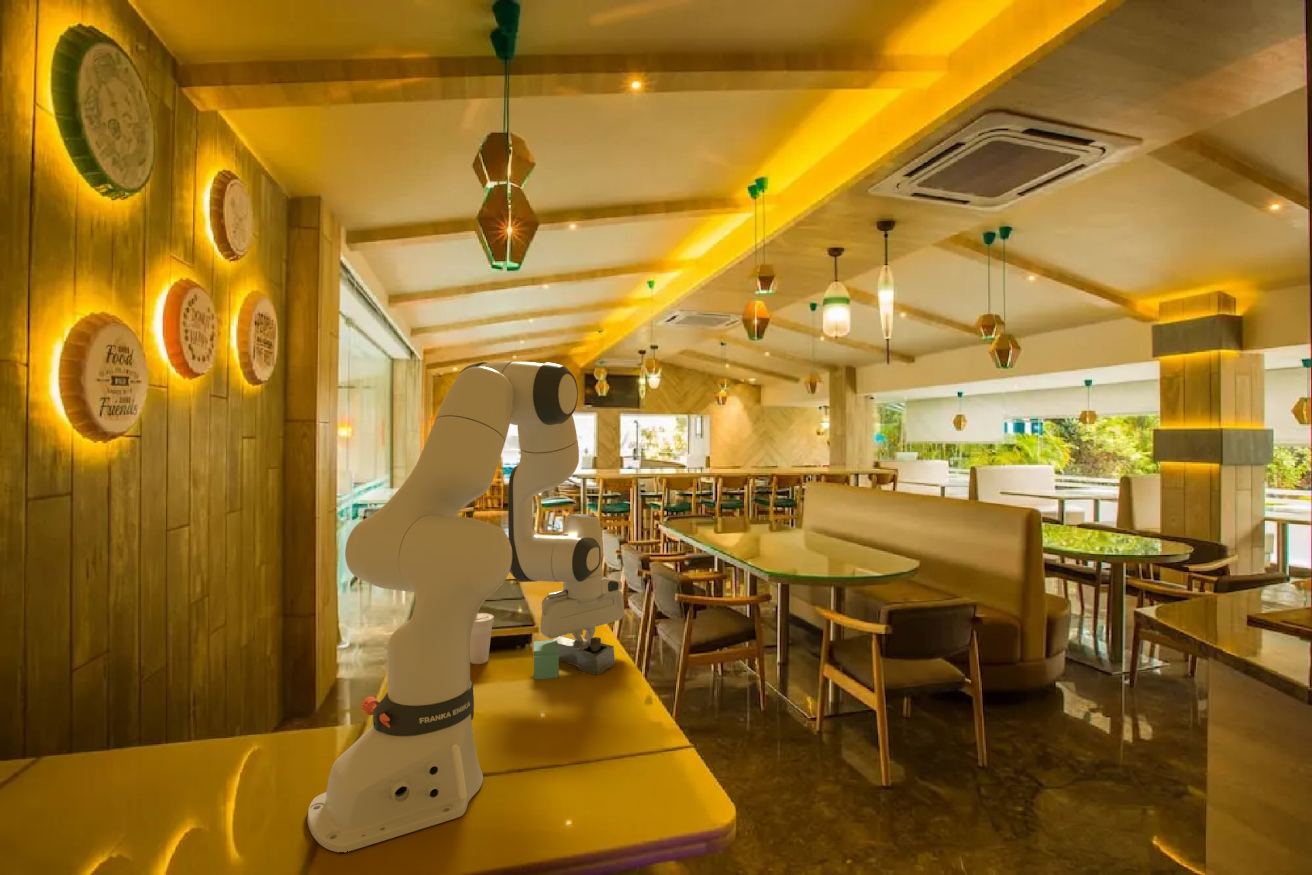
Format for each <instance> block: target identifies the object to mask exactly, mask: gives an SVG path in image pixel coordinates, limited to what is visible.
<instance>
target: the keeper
mask: <svg viewBox="0 0 1312 875" xmlns="http://www.w3.org/2000/svg"><path fill="white" fill-rule="evenodd" d="M559 662H560V661H559V654H558V642H557V640H553V639H550V640H549V639H548V640H539V641H538V640H537V641H533V680H545V679H558V678H557V677H559V678H560V668H559V667H560V665H559Z"/></svg>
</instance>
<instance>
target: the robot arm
mask: <svg viewBox="0 0 1312 875" xmlns="http://www.w3.org/2000/svg"><path fill="white" fill-rule="evenodd" d="M446 392H447V393H446V395H445V397H444V398H443V401H442V403H441V405H440V407H439V408H438V411H437V414H436V416H435V418H434V421H433V424H432V426H431V429H430V431H429V434H428V436H427V439H426V442H425V444H424V446H423V449H422V451H421V453H420V456H419V457H418V460H417V463H416V465H415V466H414V468H413V469H412V471H411V473H410V474H409V475H408V477H407V478H406V480H405V481H404V482H403V483H402V485H401V486H400V487H399V489H398V490H397V491H396V492H395V494H394V495H393V496H392V497H391V498H390V499H389V500H388V501H387V502H386V503H385V504H384V505H382V507H381V508H380V509H378V510H376V512H373V513H372V514H370V516H367V517H365V518H364V519H362V520H360V522H358V523H357V524H356V525H355V526H354V527H353V529H352V530H351V531H350V533H349V536H348V538H347V541H346V544H345V550H344V554H345V555H344V558H345V563H346V566H347V568H348V570H349V572H350V573H351V574H352V575H353V576H354V577H356V578H357V579H359V580H361V581H363V582H365V583H368V584H369V585H373V586H375V587H378V588H381V589H384V590H385V589H386V590H392V591H393V590H394V591H402V592H408V593H409V592H411V593H414V597H415V603H414V608H413V612H412V616H411V618H410V619H409V620H408V621H406V622H404V623H403V624H401V625H400V626H399V627H397V628H396V629H395V631H393V633H392V634H391V635H390V637H389V639H388V641H387V646H386V653H387V654H386V656H387V657H386V658H387V659H386V664H387V666H386V667H387V668H386V669H387V692H386V693H385V695H384V696H383V698H382V699H381V700H380V701H378V700H377V698H375V696H367V697H366V698H364V699H363V701H362V702H361V704H362V705H361V709H362V710H363V711H364V712H365V714H367V715H368V716H372V726H370V728H368V729H367V730H366V731H365V732H364V733H363V734H362V735H361V736H360V737H359V738H358V739H357V740H356V741H355V742H354V743H352V745H351V746H349V747H348V748H347V749H346V750H345V751H344V752H343V753H342V754H341V755H340V756H338V757H337V758H336V760H335V761H334V762H333V764H332V767H331V769H330V773H329V775H328V781H327V785H326V791H325V792H322V793H321V794H319V795H316V796H315V797H314V798H313V800H312V801H311V802H310V804H309V806H308V810H307V825H308V829H309V831H310V833H311V835H312V837H313V839H315V841H316V842H317V843H318V844H319V845H320V846H322V847H323V848H324V849H327V850H329V851H331V852H335V853H339V852H344V853H348V852H351V851H355V850H358V849H361V848H365V847H368V846H371V845H373V844H377V843H380V842H384V841H387V840H390V839H393V838H396V837H400V836H403V835H406V834H409V833H412V832H413V833H414V832H416V831H419V830H423V829H426V828H429V827H432V826H436V825H438V824H439V825H440V824H441V823H442V824H443V823H445V822H447V821H452V820H454V819H457V818H460V817H462V816H463V815H465V813H466V812H467V810H468V805H469V802H470V801H471V799H472V798H473V797H475V795H476V794H477V792H479V790H480V789H481V788H482V785H483V781H484V775H483V772H482V768H481V765H480V762H479V758H478V755H477V754H478V753H477V749H476V745H475V744H476V743H475V738H474V730H473V729H474V728H473V721H472V720H474V715H475V712H474V710H475V708H474V707H475V696H474V683H473V681H472V680H471V660H470V646H471V634H472V628H473V624H474V621H475V618H476V615H477V613H479V610H480V609H481V608H482V605H483V604H484V602H485V601H486V600H487V599H488V598H489V597H490V596H491V595H492V594H493V593H495V592H496V591H498V589H500V587H501V586H502V585H503V584H504V582H505V581H506V579H507V578H508V576H509V574H511V576H512V577H513V578H514V579H515V580H517V581H518V582H520V583H529V582H530V583H531V582H547V583H548V582H550V583H562V590H559V591H556V592H551V593H550V592H549V593H547V596H545V597H544V598H543V600H542V602H541V616H540V617H541V618H540V633H541V634H542V635H543V636H545V637H546V638H548V639H550V640H553V639H555V638H557V637H564V636H566V635H570V634H572V636H573V638H574V640H577V641H580V642H585V643H589V644H590V643H591V638H594V635H595V633H596V628H597V627H599V626H603V625H606V624H610V623H614V622H617V621H621V620H622V619H623V617H624V614H625V603H624V602H625V601H624V595H623V592H622V591H621V590H622V588H623V585H622V584H623V582H622V581H621V580H619V579H616V578H614V577H611V576H606V575H604V570H603V569H604V568H603V566H602V557H603V554H604V552H603V551H604V550H603V546H604V545H603V535H602V528H601V526H602V525H601V522H600V519H599V517H598V516H596V515H594V514H584V513H583V514H580V513H578V514H577V513H572V514H568V515H565V517H564V522H563V530H562V534H560V535H559V534H542V533H541V534H540V533H538V532H536V531H535V530H534V527H533V519H534V518H533V512H534V510H533V507H534V506H533V504H534V503H533V502H534V501H533V500H534V497H535V496H537V495H538V494H541V493H544V492H546V491H549V490H552V489H554V488H555V489H556V488H557V487H558V486H560V485H562V484H563V483H566V481H567V480H569V479H570V478H571V477H572V476H573V474H574V473H575V471H576V470H577V468H578V465H579V463H580V461H579V460H580V450H579V448H580V447H579V442H578V441H579V440H578V436H577V429H576V425H575V424H576V423H575V420H574V416H573V413H574V412H575V410H576V408H577V405H578V399H579V390H578V383H577V380H576V378H575V376H574V375H573V373H572V372H571V370H569V368H568V367H566V366H564V365H562V364H558V363H553V362H544V363H540V362H532V361H531V362H530V361H519V360H503V361H502V360H501V361H493V362H487V361H486V362H485V361H481V362H475V363H473V364H472V363H471V364H470V365H468V366H465V367H464V368H463V369H462V370H461V371H460V372H459V374H458V375H457V376H456V378H455V380H454V381H453V382H452V384H451V386H450V388H449V389H448V391H446ZM510 425H513V426H517V435H518V436H517V437H518V442H519V449H520V458H519V463H518V464H517V465H516V466H514V467H513V468H512V469H511V472H510V476H509V479H508V488H507V489H508V490H507V512H508V513H507V519H508V521H507V525H508V526H507V527H508V535H507V533H506V532H505V530H504V529H503V528H501V527H500V526H498V525H496V524H493V523H490V522H487V521H484V520H481V519H478V518H477V519H476V518H474V517H467V516H458V514H459V513H460V512H461V511H462V510H463V509H464V508H465V507H466V506H467V505H469V504H470V503H472V502H473V501H475V500H477V499H478V498H480V497H482V496H484V494H486V493H487V492H488V491H489V490H490V488H491V486H492V484H493V482H494V477H495V475H496V471H497V469H498V467H499V466H498V465H499V463H500V459H501V456H502V453H503V450H504V447H505V443H506V439H507V437H508V433H509V428H510ZM584 631H586V632H585V634H584ZM583 634H584V637H582V636H583ZM347 851H348V852H347Z"/></svg>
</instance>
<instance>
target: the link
mask: <svg viewBox="0 0 1312 875" xmlns="http://www.w3.org/2000/svg"><path fill="white" fill-rule="evenodd" d="M552 640H557V642H558V654H559V662H562V661H563V662H562V663H566V664H569V663H570V664H571V665H573V666H577V670H579V671H583V672H586V673H590V674H593V675H597V676H599V675H601V674H602V673H603V672H605V671H607V670H608V669H610V668H612V667H614V666H615V665H616V660H615V649H614V648H615V647H614V645H611V644H606V643H603V642H601V651H600V652H598V653H596V654H595V653H591V643H590V644H589V643H585V642H580V641H577V640H576V639H572V638H568V637H564V636H560V637H556V638H552Z"/></svg>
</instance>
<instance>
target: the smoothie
mask: <svg viewBox="0 0 1312 875" xmlns="http://www.w3.org/2000/svg"><path fill="white" fill-rule="evenodd" d="M494 621H495V616H494V615H493V614H491V613H487V612H484V613H483V612H481V613H480V612H478V613H477V615H476V618H475V621H474V624H473V628H472V634H471V646H470V664H472V665H481V664H482V665H483V664H486V663H488V662H489V655H490V648H491V647H490V646H491V639H492V638H491V637H492V630H493V629H492V628H493V623H494Z"/></svg>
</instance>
